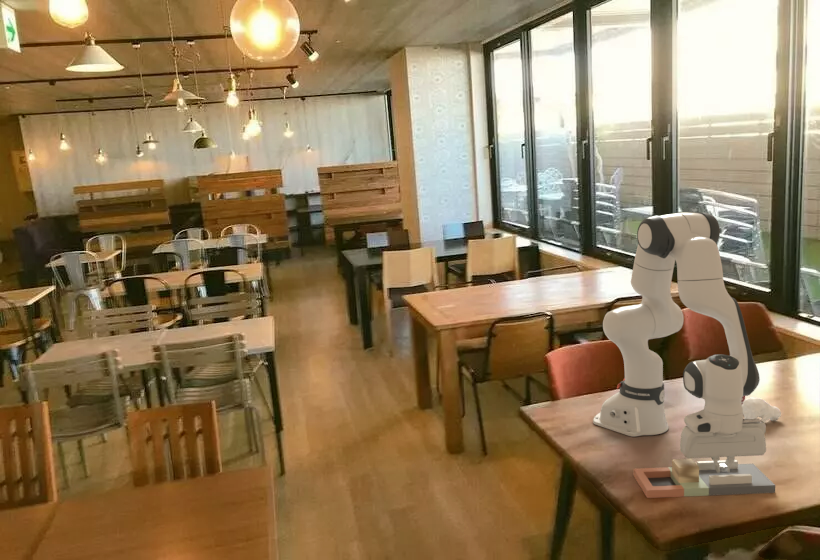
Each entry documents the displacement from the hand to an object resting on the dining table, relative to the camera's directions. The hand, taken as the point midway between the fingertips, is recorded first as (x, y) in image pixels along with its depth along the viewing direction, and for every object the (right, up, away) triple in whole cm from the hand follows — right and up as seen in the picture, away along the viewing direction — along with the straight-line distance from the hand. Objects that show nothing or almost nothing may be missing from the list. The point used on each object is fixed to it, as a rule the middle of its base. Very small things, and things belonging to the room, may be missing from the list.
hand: (722, 471), depth 172 cm
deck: (-5, -3, +1) cm, 6 cm away
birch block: (-9, -2, 0) cm, 9 cm away
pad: (-8, -4, +1) cm, 9 cm away
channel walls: (0, -1, 0) cm, 1 cm away
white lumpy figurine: (+29, +5, +36) cm, 46 cm away
